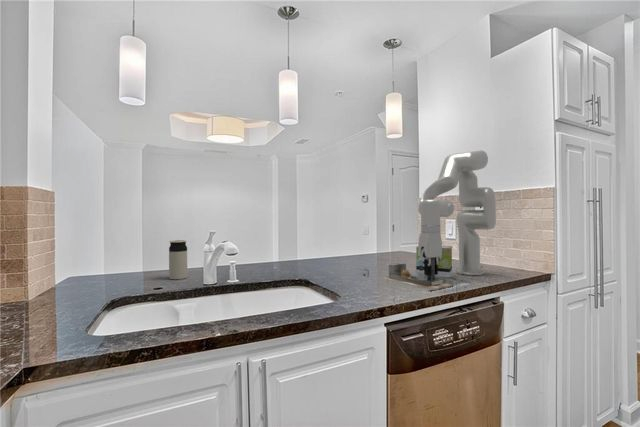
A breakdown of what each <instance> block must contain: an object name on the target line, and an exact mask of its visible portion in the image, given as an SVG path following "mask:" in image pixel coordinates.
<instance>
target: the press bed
mask: <svg viewBox="0 0 640 427" xmlns="http://www.w3.org/2000/svg"><path fill="white" fill-rule="evenodd" d="M402 270H407V263H406V262H397V263H389V264H388V276H387V277H386V276H385V277H383V279H384V280H388V281H389V280H390V281H394V282H398V283H403V284H408V285H411V286H416V287H420V288H425V289H429V290H428V292H429V291H430V292H429V293H432V291H434V292H438V291H441V290H442V289H443V290H447V289H450V288H451V287H452V288H454V284H453V283H449V282H445V279H441V278H440V279H441V280H443V284H438V285H433V286H430V282H426V281H421V280H416V279H411V278H410V276H409V278H406V277H401V271H402ZM424 277H427V276H424ZM435 278H436V277H435ZM436 279H439V277H438V278H436ZM446 288H447V289H446ZM437 290H438V291H437Z"/></svg>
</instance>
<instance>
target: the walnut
mask: <svg viewBox="0 0 640 427" xmlns="http://www.w3.org/2000/svg"><path fill="white" fill-rule="evenodd" d="M410 273H411V272H410V271H409V270H408V269H406V270H402V271H401V277H406V278H409V276H410Z"/></svg>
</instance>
